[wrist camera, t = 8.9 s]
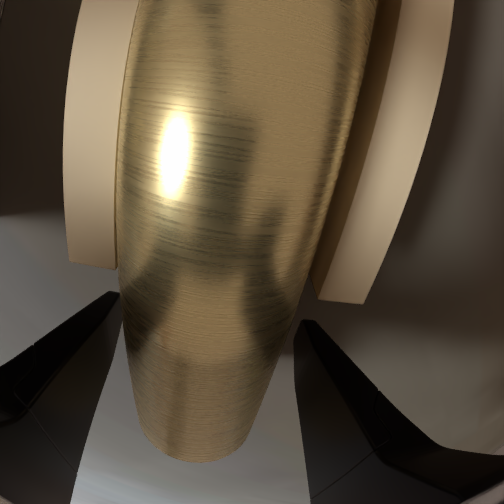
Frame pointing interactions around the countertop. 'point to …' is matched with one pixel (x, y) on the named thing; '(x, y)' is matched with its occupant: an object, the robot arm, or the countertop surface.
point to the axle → (225, 198)
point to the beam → (353, 163)
